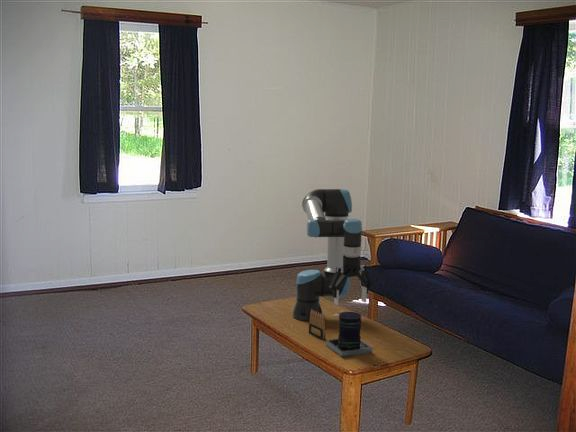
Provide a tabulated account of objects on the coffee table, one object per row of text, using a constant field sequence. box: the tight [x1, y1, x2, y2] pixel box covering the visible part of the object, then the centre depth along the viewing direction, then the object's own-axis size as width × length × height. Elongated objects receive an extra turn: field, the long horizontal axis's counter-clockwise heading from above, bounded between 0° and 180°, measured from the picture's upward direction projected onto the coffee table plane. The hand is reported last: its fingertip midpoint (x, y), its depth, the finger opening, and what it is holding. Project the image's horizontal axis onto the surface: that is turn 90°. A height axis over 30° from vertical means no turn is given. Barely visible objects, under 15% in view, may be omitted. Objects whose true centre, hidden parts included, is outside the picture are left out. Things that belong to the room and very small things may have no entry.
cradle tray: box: [325, 338, 373, 358], centre depth 290 cm, size 15×15×2 cm
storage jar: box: [337, 311, 362, 351], centre depth 289 cm, size 10×10×15 cm
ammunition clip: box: [308, 309, 326, 341], centre depth 305 cm, size 11×2×12 cm, turn 35°
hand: (350, 302), depth 287 cm, fingers open, 13 cm apart
